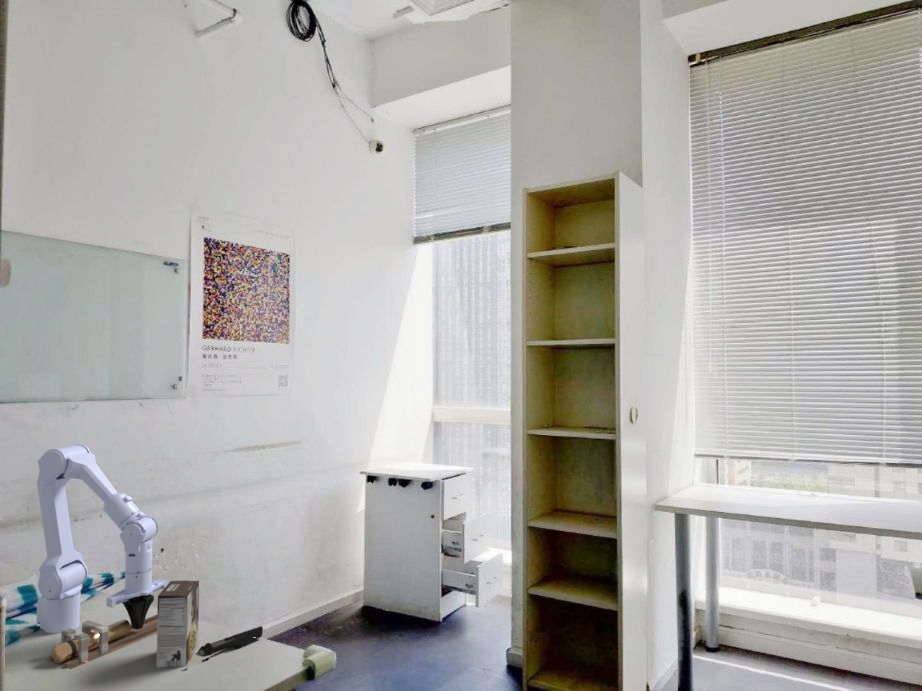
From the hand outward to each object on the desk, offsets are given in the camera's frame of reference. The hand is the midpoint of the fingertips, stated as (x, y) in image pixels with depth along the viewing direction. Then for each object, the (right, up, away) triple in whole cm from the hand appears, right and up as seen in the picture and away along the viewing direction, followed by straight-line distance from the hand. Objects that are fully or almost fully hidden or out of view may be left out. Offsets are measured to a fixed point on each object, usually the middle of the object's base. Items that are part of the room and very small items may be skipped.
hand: (137, 627), depth 153 cm
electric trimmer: (+24, -3, -5) cm, 25 cm away
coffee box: (+15, -2, -12) cm, 20 cm away
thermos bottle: (-5, -1, -9) cm, 10 cm away
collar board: (-2, -2, -5) cm, 6 cm away
